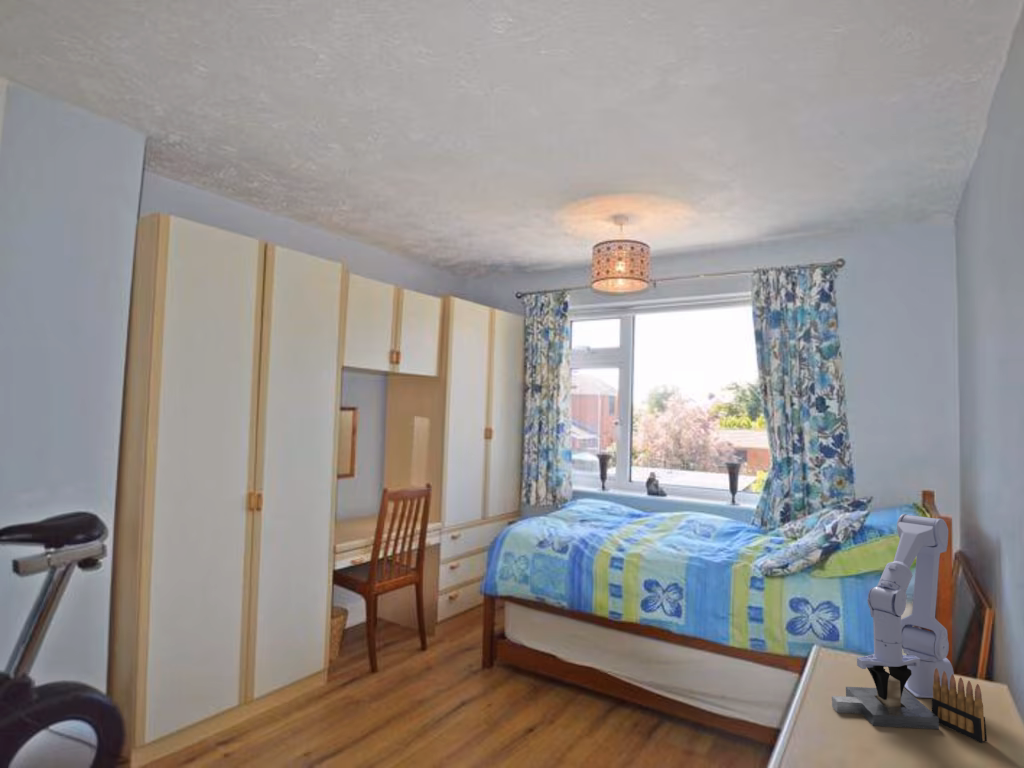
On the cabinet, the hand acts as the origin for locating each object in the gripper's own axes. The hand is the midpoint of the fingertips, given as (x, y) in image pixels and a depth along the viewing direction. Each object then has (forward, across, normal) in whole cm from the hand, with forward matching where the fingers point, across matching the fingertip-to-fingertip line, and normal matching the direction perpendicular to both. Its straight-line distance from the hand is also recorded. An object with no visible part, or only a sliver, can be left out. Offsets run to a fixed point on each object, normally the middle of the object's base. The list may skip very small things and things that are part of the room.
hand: (889, 697), depth 143 cm
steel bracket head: (+3, +3, -1) cm, 4 cm away
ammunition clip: (+4, -10, +9) cm, 14 cm away
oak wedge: (+2, 0, 0) cm, 3 cm away
